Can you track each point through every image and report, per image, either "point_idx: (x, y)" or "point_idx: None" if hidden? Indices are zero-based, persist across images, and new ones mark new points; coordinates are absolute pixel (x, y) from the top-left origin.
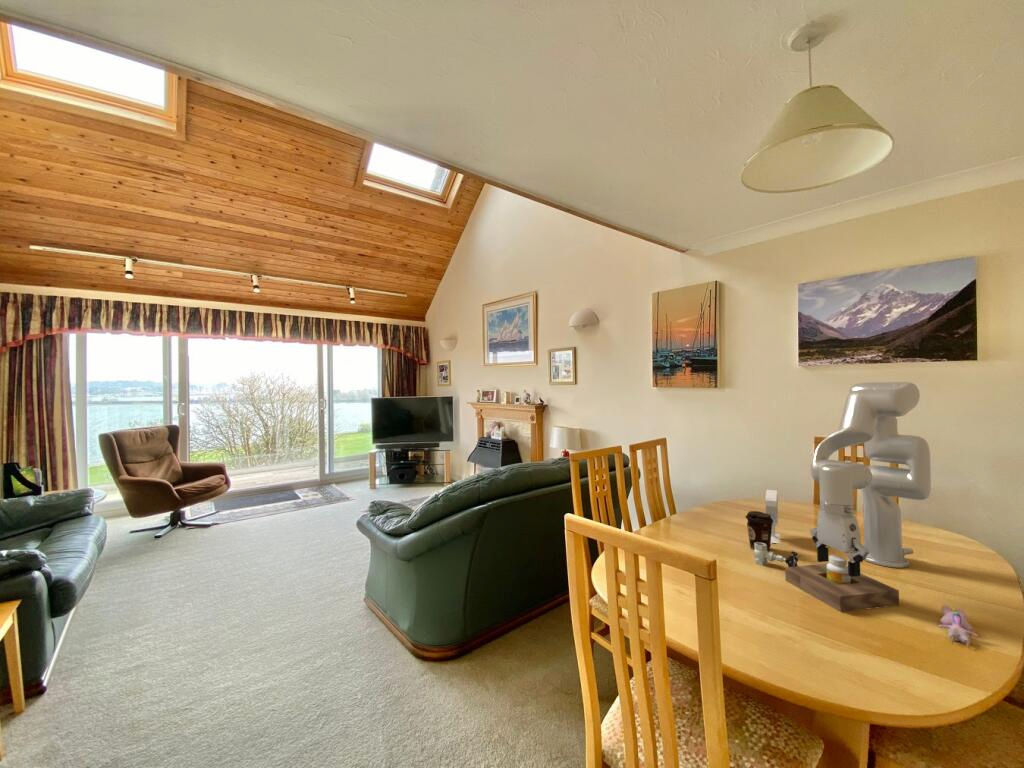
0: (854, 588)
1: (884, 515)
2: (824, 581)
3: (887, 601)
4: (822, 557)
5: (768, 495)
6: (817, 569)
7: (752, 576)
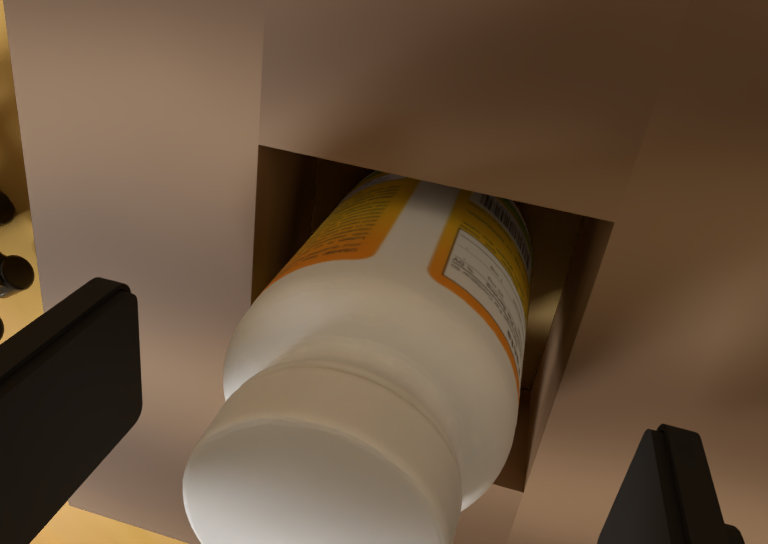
0: None
1: None
2: None
3: None
4: (102, 419)
5: None
6: (152, 301)
7: (57, 532)
